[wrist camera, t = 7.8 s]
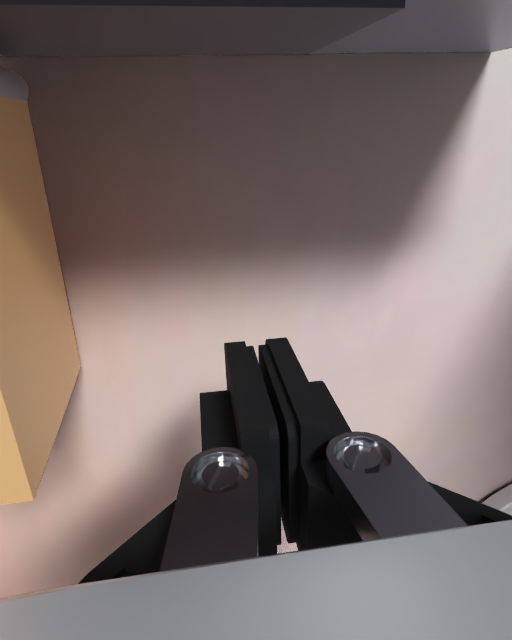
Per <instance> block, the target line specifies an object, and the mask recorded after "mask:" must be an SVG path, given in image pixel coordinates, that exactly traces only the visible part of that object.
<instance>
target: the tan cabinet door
mask: <svg viewBox="0 0 512 640" xmlns="http://www.w3.org/2000/svg"><path fill="white" fill-rule="evenodd" d="M28 95H29V92H28V87H27V84H26V82H25V81H24V79H23V78H22V77H21V76H20V75H19V74H17V73H16V72H14V71H11V70H8V69H5V68H2V67H0V505H6V504H13V503H20V502H27V501H34V498H35V495H36V493H37V490H38V487H39V484H40V481H41V479H42V476H43V473H44V470H45V467H46V464H47V462H48V459H49V456H50V453H51V450H52V447H53V445H54V442H55V439H56V436H57V433H58V430H59V428H60V425H61V422H62V419H63V416H64V413H65V411H66V408H67V405H68V402H69V399H70V397H71V394H72V391H73V388H74V385H75V382H76V380H77V377H78V374H79V371H80V368H81V364H80V359H79V354H78V349H77V345H76V340H75V335H74V330H73V325H72V320H71V315H70V310H69V305H68V300H67V295H66V291H65V286H64V281H63V276H62V271H61V266H60V261H59V256H58V251H57V246H56V242H55V237H54V232H53V227H52V222H51V217H50V212H49V207H48V202H47V197H46V192H45V188H44V183H43V178H42V173H41V168H40V163H39V158H38V153H37V148H36V143H35V138H34V134H33V129H32V124H31V119H30V114H29V109H28V104H27V100H28Z"/></svg>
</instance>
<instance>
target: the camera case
mask: <svg viewBox="0 0 512 640" xmlns="http://www.w3.org/2000/svg"><path fill="white" fill-rule="evenodd" d="M508 48H512V0H0V56H3V55H5V56H8V57H49V56H178V55H308V54H310V53H415V52H494V51H499V50H503V49H508Z"/></svg>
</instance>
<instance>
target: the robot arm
mask: <svg viewBox="0 0 512 640" xmlns="http://www.w3.org/2000/svg"><path fill="white" fill-rule="evenodd" d="M224 349H225V364H226V379H227V390H226V391H216V392H207V393H200V412H201V437H202V452H201V453H199V454H197V455H196V456H194V457H193V458H192V459H191V460H190V461H189V462H188V463H187V464H186V466H185V468H184V470H183V473H182V478H181V482H180V486H179V490H178V495H177V499H176V500H175V501H174V502H173V503H171V504H170V505H169V506H168V507H167V508H165V509H164V510H163V511H162V512H161V513H159V514H158V515H157V516H156V517H155V518H154V519H152V520H151V521H150V522H149V523H148V524H146V525H145V526H144V527H143V528H142V529H140V530H139V531H138V532H137V533H136V534H134V535H133V536H132V537H131V538H130V539H129V540H127V541H126V542H125V543H124V544H123V545H121V546H120V547H119V548H118V549H117V550H115V551H114V552H113V553H112V554H111V555H109V556H108V557H107V558H106V559H105V560H104V561H102V562H101V563H100V564H99V565H98V566H96V567H95V568H94V569H93V570H92V571H90V572H89V573H88V574H87V575H86V576H85V577H84V578H83V579H82V580H81V581H80V582H79V583H78V584H76V585H70V586H64V587H59V588H54V589H48V590H43V591H38V592H32V593H27V594H21V595H16V596H11V597H5V598H0V640H512V484H510V485H508V486H507V487H505V488H503V489H501V490H500V491H498V492H496V493H495V494H493V495H492V496H490V497H489V498H488V499H486V500H485V501H484V502H482V503H480V502H477V501H475V500H472V499H470V498H467V497H465V496H462V495H460V494H457V493H455V492H452V491H450V490H447V489H445V488H442V487H440V486H438V485H435V484H433V483H430V482H428V481H426V480H425V479H424V478H423V476H422V475H421V474H420V473H419V472H418V471H417V470H416V469H415V468H414V467H413V466H412V465H411V464H410V462H409V461H408V460H407V459H406V458H405V457H404V456H403V455H402V454H401V453H400V452H399V451H398V450H397V448H396V447H395V446H394V445H392V444H391V443H390V442H389V441H387V440H386V439H384V438H382V437H380V436H378V435H375V434H371V433H367V432H352V431H351V430H350V428H349V426H348V424H347V422H346V421H345V419H344V417H343V415H342V414H341V412H340V410H339V408H338V406H337V405H336V403H335V401H334V399H333V397H332V396H331V394H330V392H329V390H328V389H327V387H326V385H325V383H324V382H323V381H314V382H309V381H308V379H307V377H306V375H305V373H304V371H303V369H302V367H301V365H300V363H299V361H298V359H297V357H296V355H295V353H294V351H293V349H292V347H291V345H290V343H289V341H288V339H287V338H276V339H266V343H265V345H259V363H258V360H257V357H256V354H255V351H254V347H253V346H246V344H245V341H243V342H231V343H224ZM281 518H282V522H283V526H284V530H285V534H286V538H287V542H288V543H295V542H296V544H297V548H298V551H293V552H286V553H279V554H277V545H281Z"/></svg>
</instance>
